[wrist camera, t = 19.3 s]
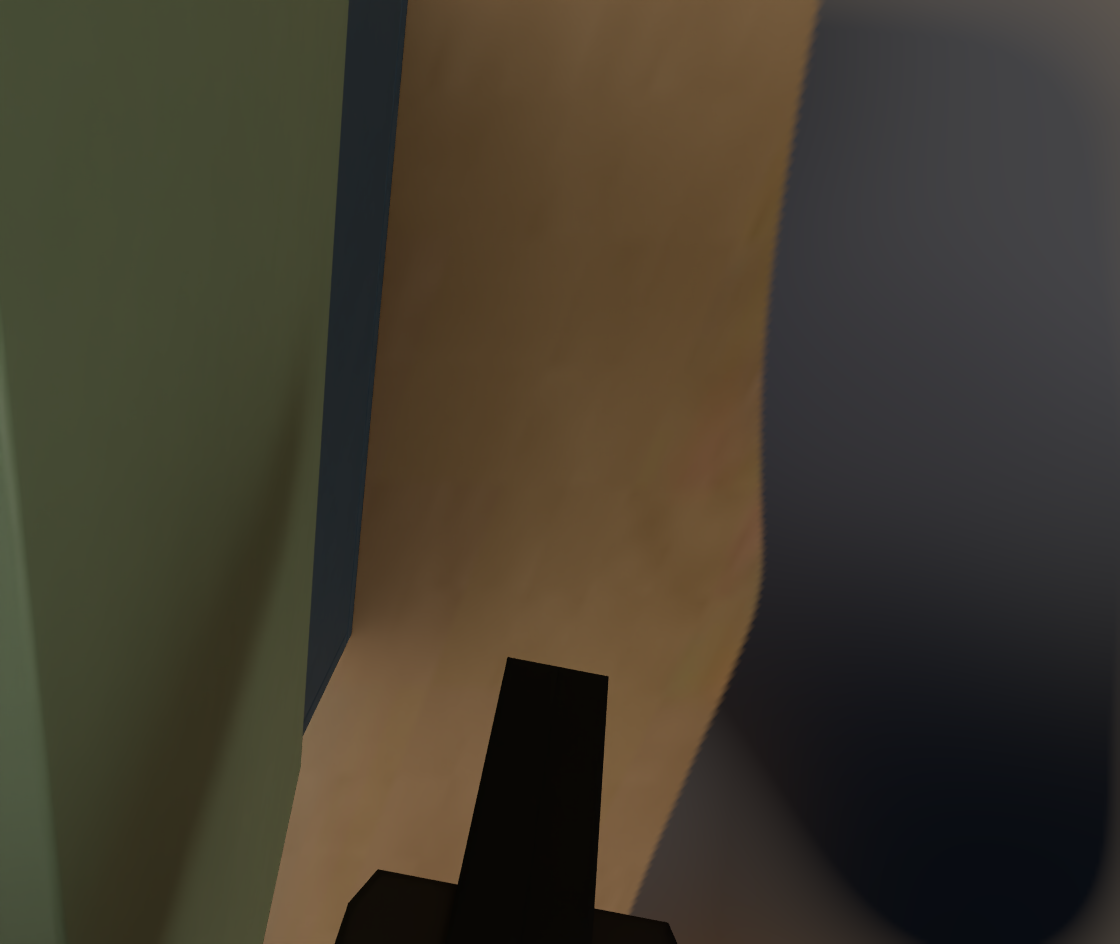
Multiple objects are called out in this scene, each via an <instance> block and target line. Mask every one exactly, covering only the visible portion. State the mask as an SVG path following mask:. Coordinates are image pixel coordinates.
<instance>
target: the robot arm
mask: <svg viewBox="0 0 1120 944" xmlns="http://www.w3.org/2000/svg"><path fill="white" fill-rule="evenodd" d="M608 677H609V676H603V675H598V674H593V673H588V672H583V671H577V670H572V669H567V668H562V667H557V666H551V665H546V664H541V663H536V662H530V661H525V660H520V659H515V658H510V657H508V658H507V662H506V667H505V671H504V676H503V681H502V685H501V690H500V694H499V699H498V703H497V708H496V713H495V717H494V722H493V726H492V731H491V735H490V740H489V744H488V749H487V754H486V758H485V763H484V767H483V772H482V776H481V781H480V786H479V790H478V795H477V799H476V804H475V808H474V813H473V817H472V822H471V827H470V831H469V836H468V840H467V845H466V849H465V854H464V859H463V863H462V868H461V872H460V877H459V881H458V885H457V884H451V883H446V882H441V881H436V880H431V879H425V878H420V877H415V876H410V875H405V874H399V873H394V872H389V871H384V870H379V869H378V870H377V871H376V872H375V873H374V874H373V876H372V877H371V878H370V879H369V880H368V881H367V882H366V884H365V885H364V886H363V887H362V888H361V889H360V890H359V892H358V893H357V894H356V895H355V896H354V897H353V898H352V900H351V901H350V902H349V903H348V906H347V909H346V912H345V915H344V918H343V920H342V923H341V926H340V929H339V932H338V935H337V938H336V941H335V944H677V942H676V940H675V937H674V935H673V933H672V930H671V928H670V926H669V924H668V923H667V922H662V921H657V920H651V919H646V918H641V917H636V916H630V915H625V914H620V913H615V912H610V911H605V910H599V909H594V904H595V888H596V872H597V855H598V839H599V823H600V807H601V791H602V774H603V758H604V742H605V726H606V710H607V693H608Z"/></svg>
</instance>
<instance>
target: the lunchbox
mask: <svg viewBox="0 0 1120 944" xmlns="http://www.w3.org/2000/svg"><path fill="white" fill-rule="evenodd" d="M407 3H408V0H349V6H348V22H347V38H346V54H345V70H344V86H343V102H342V118H341V133H340V149H339V165H338V181H337V197H336V213H335V229H334V245H333V260H332V276H331V292H330V308H329V324H328V340H327V356H326V372H325V387H324V403H323V419H322V435H321V451H320V467H319V483H318V498H317V514H316V530H315V546H314V562H313V578H312V594H311V610H310V625H309V641H308V657H307V673H306V689H305V705H304V721H303V735H304V733H305V730H306V728H307V726H308V724H309V722H310V720H311V718H312V716H313V714H314V712H315V709H316V707H317V705H318V703H319V701H320V699H321V697H322V695H323V693H324V691H325V688H326V686H327V684H328V682H329V680H330V678H331V676H332V674H333V672H334V670H335V668H336V665H337V663H338V661H339V659H340V657H341V655H342V653H343V651H344V649H345V647H346V644H347V642H348V640H349V638H350V636H351V633H352V621H353V610H354V599H355V588H356V576H357V565H358V554H359V543H360V532H361V520H362V509H363V498H364V487H365V475H366V464H367V453H368V442H369V430H370V419H371V408H372V397H373V385H374V374H375V363H376V352H377V340H378V329H379V318H380V307H381V295H382V284H383V273H384V262H385V251H386V239H387V228H388V217H389V206H390V194H391V183H392V172H393V161H394V149H395V138H396V127H397V116H398V104H399V93H400V82H401V71H402V59H403V48H404V37H405V26H406V14H407Z"/></svg>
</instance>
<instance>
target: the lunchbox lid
mask: <svg viewBox="0 0 1120 944" xmlns="http://www.w3.org/2000/svg"><path fill="white" fill-rule="evenodd" d="M348 6H349V0H0V944H263V941H264V936H265V931H266V926H267V922H268V917H269V912H270V908H271V903H272V898H273V894H274V889H275V884H276V879H277V875H278V870H279V865H280V861H281V856H282V851H283V847H284V842H285V837H286V832H287V828H288V823H289V818H290V814H291V809H292V804H293V800H294V795H295V790H296V785H297V781H298V776H299V771H300V767H301V752H302V737H303V721H304V705H305V689H306V673H307V657H308V641H309V625H310V610H311V594H312V578H313V562H314V546H315V530H316V514H317V498H318V483H319V467H320V451H321V435H322V419H323V403H324V387H325V372H326V356H327V340H328V324H329V308H330V292H331V276H332V260H333V245H334V229H335V213H336V197H337V181H338V165H339V149H340V133H341V118H342V102H343V86H344V70H345V54H346V38H347V22H348Z"/></svg>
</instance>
